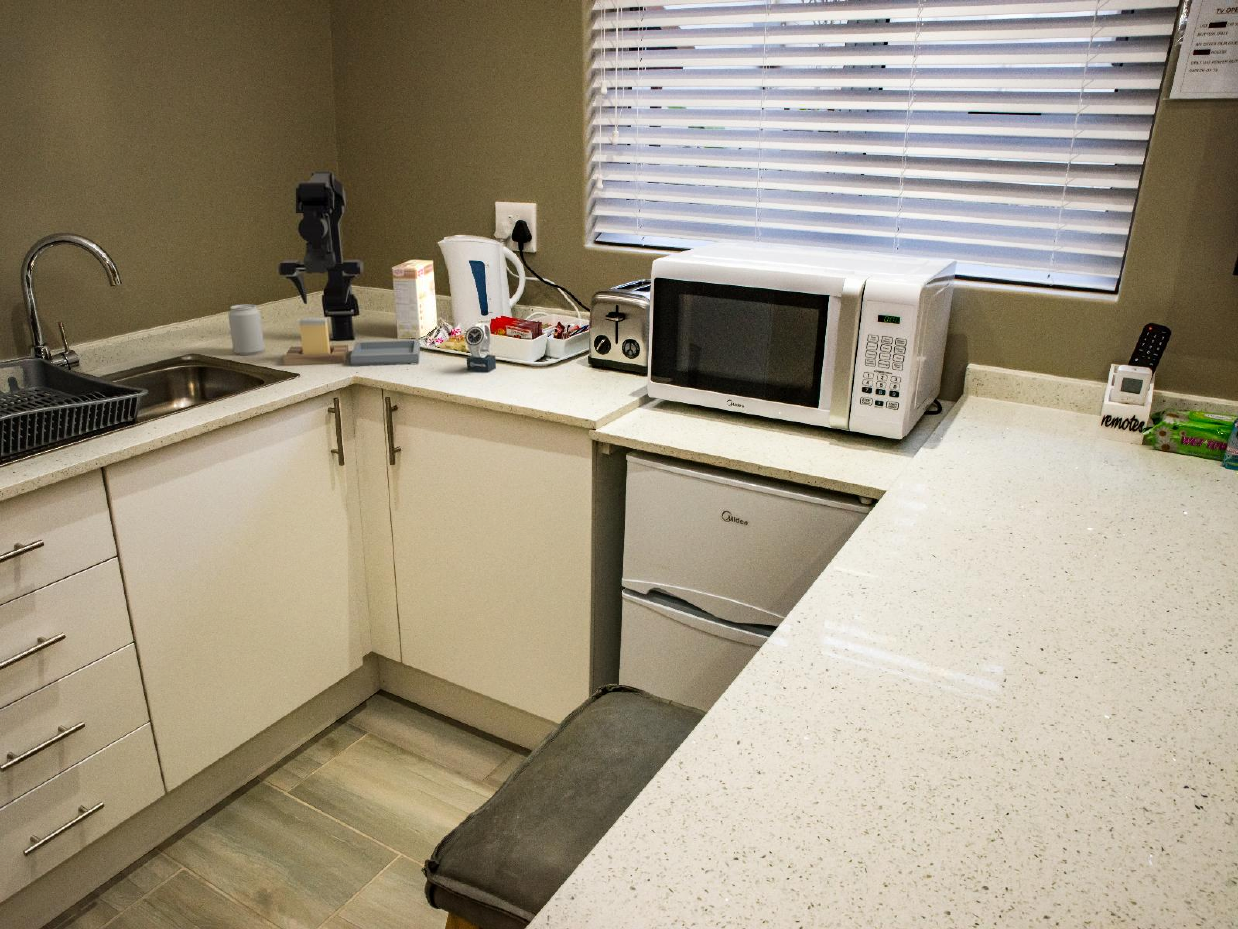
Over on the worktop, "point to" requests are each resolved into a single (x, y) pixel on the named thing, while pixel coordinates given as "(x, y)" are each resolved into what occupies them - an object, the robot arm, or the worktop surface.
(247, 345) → the can
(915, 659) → the worktop surface
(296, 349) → the brown wooden frame
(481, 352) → the watch
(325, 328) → the tan rectangular block
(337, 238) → the robot arm
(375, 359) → the parts tray
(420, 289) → the coffeecake box
